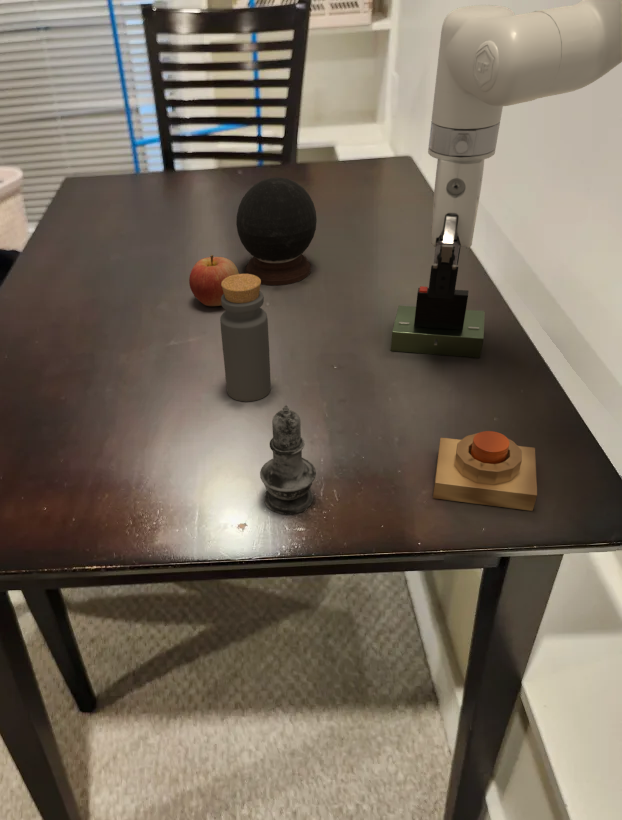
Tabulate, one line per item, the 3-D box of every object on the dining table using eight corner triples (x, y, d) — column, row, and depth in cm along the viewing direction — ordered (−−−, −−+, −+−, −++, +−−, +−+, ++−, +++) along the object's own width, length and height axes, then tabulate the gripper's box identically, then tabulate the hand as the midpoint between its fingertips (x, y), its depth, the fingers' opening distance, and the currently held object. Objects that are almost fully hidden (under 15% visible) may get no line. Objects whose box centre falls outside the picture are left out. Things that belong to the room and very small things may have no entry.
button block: (530, 463, 76) (538, 434, 74) (532, 511, 71) (541, 481, 68) (438, 452, 79) (442, 424, 76) (432, 498, 73) (437, 469, 70)
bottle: (228, 404, 89) (217, 294, 79) (225, 380, 93) (215, 273, 83) (273, 399, 89) (268, 289, 79) (268, 375, 93) (263, 269, 83)
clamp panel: (481, 330, 99) (485, 309, 97) (479, 369, 91) (483, 347, 89) (396, 324, 102) (398, 304, 100) (387, 361, 94) (389, 340, 92)
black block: (463, 324, 94) (469, 288, 91) (462, 330, 93) (468, 293, 90) (414, 321, 96) (418, 285, 92) (413, 326, 95) (417, 290, 91)
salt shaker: (316, 480, 76) (317, 388, 68) (315, 517, 72) (315, 423, 64) (263, 480, 77) (258, 388, 69) (259, 515, 73) (252, 422, 65)
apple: (235, 315, 107) (231, 265, 102) (186, 313, 109) (180, 264, 103) (246, 292, 113) (242, 244, 108) (199, 290, 115) (193, 243, 109)
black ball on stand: (326, 280, 114) (327, 186, 104) (249, 292, 113) (242, 198, 103) (304, 251, 124) (303, 162, 114) (233, 262, 122) (226, 172, 113)
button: (506, 446, 73) (509, 432, 72) (506, 467, 71) (509, 453, 69) (471, 442, 74) (473, 429, 73) (470, 462, 71) (472, 449, 70)
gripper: (496, 163, 72) (470, 313, 83) (498, 118, 84) (475, 255, 96) (423, 161, 74) (407, 309, 85) (435, 118, 86) (419, 252, 97)
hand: (443, 280), depth 90 cm, fingers open, 9 cm apart
